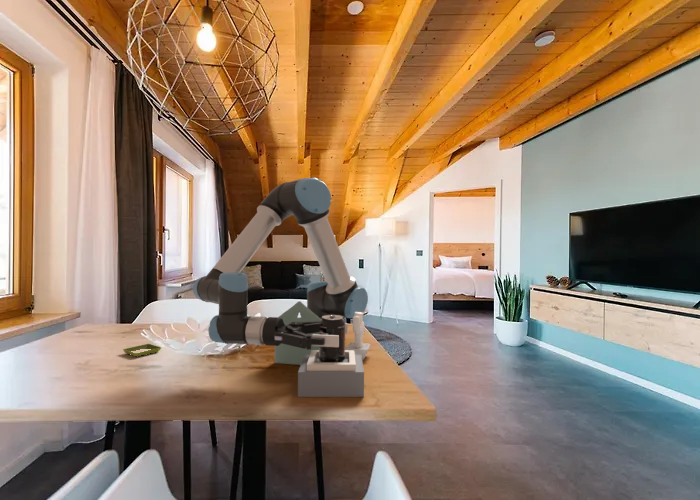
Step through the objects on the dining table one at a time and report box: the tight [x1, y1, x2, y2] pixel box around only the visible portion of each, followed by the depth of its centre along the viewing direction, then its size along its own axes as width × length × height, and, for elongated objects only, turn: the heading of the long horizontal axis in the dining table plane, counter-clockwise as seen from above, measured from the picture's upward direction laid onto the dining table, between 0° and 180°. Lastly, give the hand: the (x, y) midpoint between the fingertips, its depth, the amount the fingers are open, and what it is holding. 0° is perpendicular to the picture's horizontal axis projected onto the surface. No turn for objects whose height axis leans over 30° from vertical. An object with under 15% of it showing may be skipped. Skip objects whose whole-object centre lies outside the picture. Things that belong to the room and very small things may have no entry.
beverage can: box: [319, 315, 346, 363], centre depth 89 cm, size 7×7×12 cm
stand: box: [297, 349, 365, 398], centre depth 89 cm, size 14×16×8 cm
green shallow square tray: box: [122, 343, 162, 357], centre depth 116 cm, size 9×9×2 cm
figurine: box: [345, 312, 371, 360], centre depth 113 cm, size 7×9×15 cm
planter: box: [274, 301, 322, 366], centre depth 109 cm, size 16×8×20 cm, turn 78°
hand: (343, 334), depth 88 cm, fingers open, 13 cm apart
